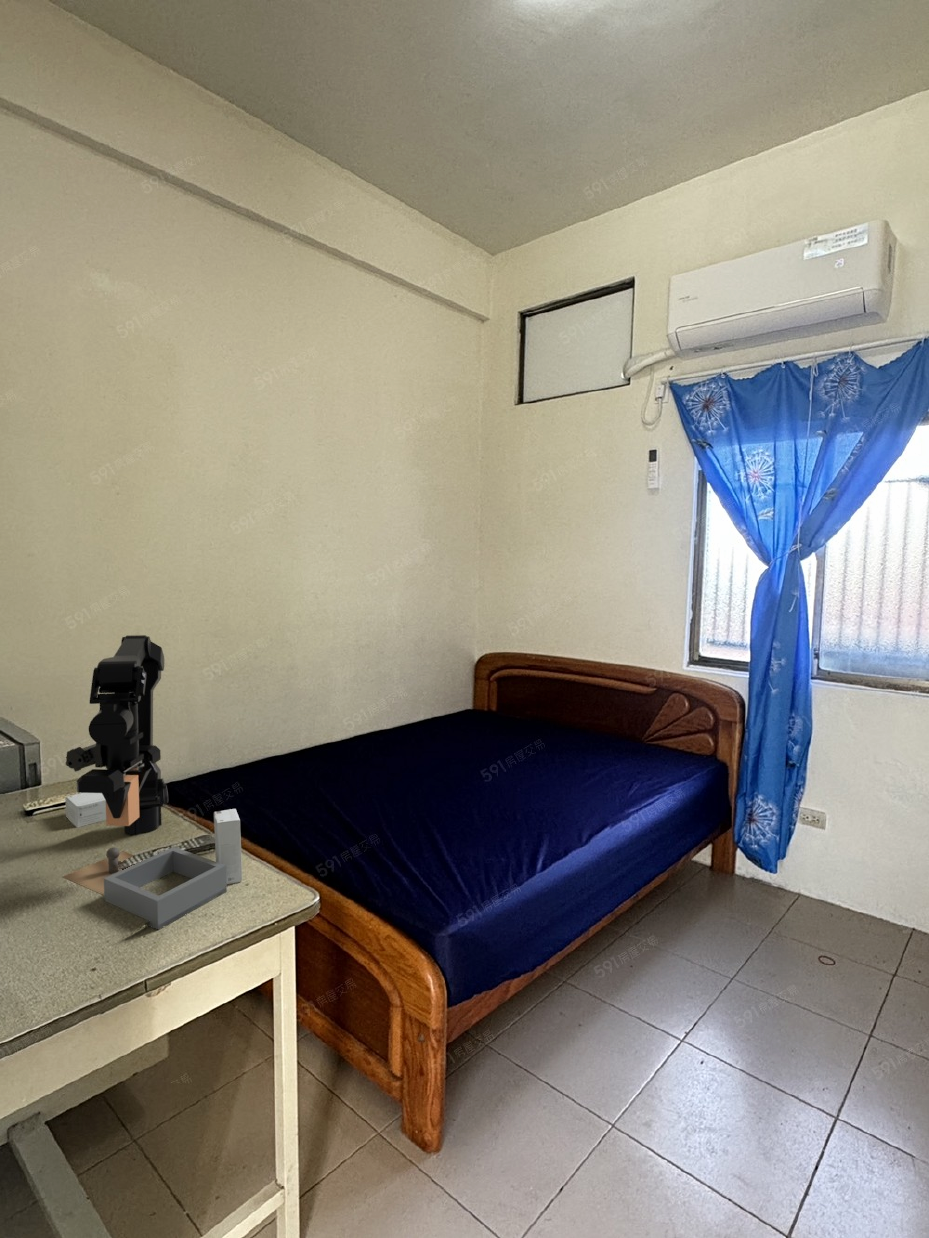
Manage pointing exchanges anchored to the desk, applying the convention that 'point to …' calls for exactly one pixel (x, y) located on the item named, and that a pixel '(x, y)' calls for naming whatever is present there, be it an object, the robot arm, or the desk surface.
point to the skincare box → (228, 843)
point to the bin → (174, 902)
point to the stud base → (99, 871)
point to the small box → (85, 808)
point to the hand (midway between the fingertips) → (123, 813)
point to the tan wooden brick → (127, 805)
